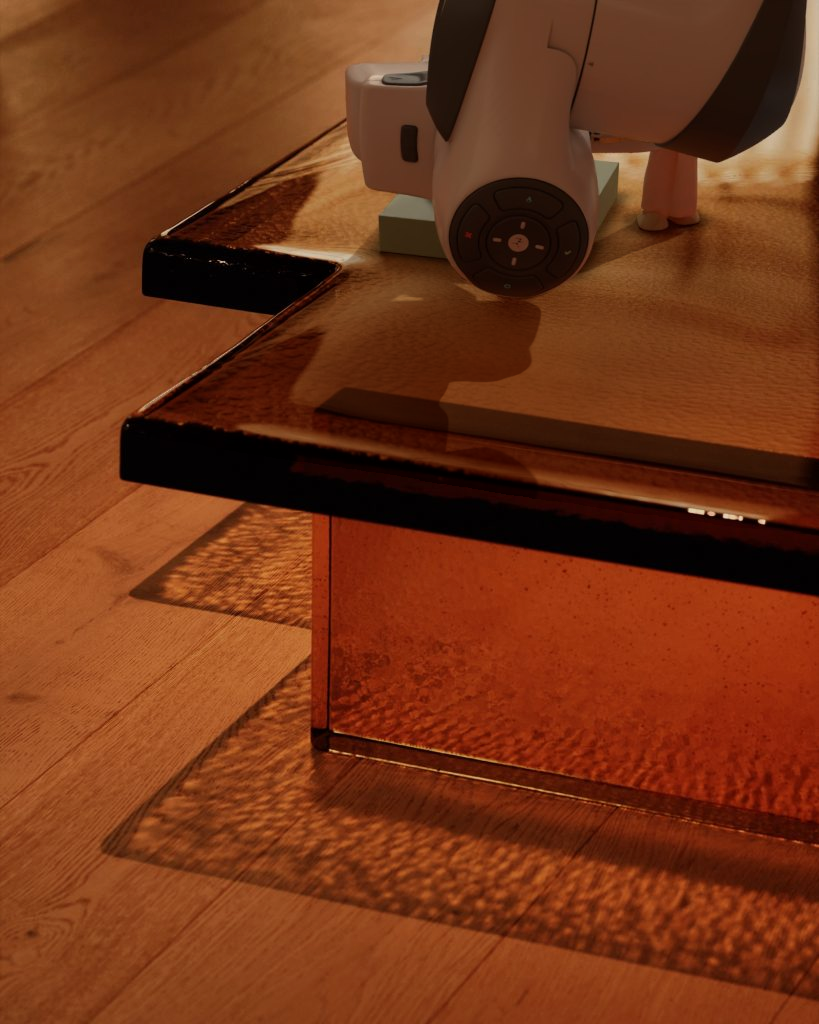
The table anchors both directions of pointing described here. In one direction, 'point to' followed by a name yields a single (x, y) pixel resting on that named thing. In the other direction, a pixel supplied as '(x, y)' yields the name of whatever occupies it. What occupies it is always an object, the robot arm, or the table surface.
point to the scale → (415, 230)
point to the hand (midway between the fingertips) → (506, 66)
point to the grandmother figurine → (669, 190)
